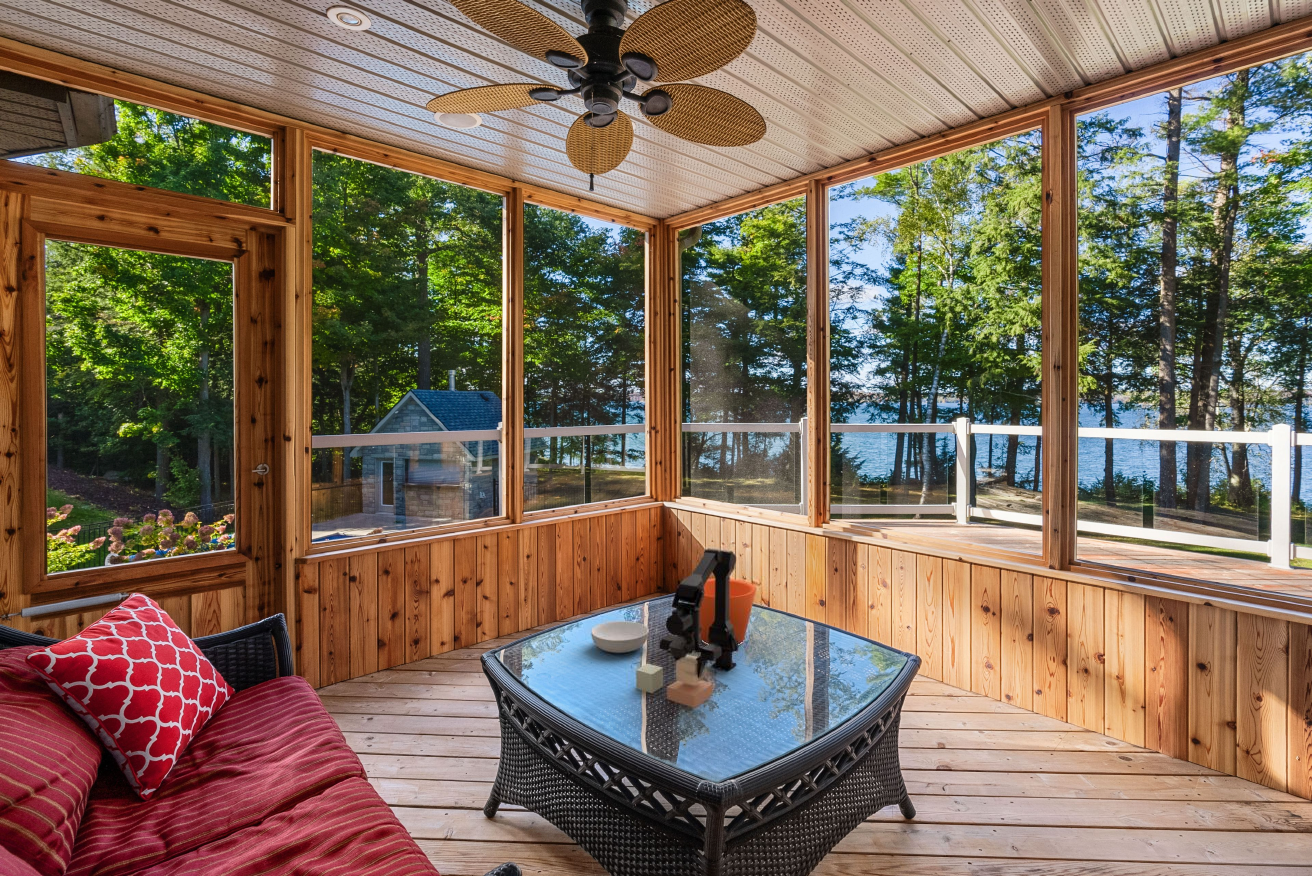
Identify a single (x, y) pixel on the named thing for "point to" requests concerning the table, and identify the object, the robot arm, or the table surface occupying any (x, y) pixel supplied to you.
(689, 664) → the maple cube
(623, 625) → the serving bowl
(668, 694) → the terracotta base block
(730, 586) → the flowerpot
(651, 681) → the sage green cube
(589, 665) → the table surface
